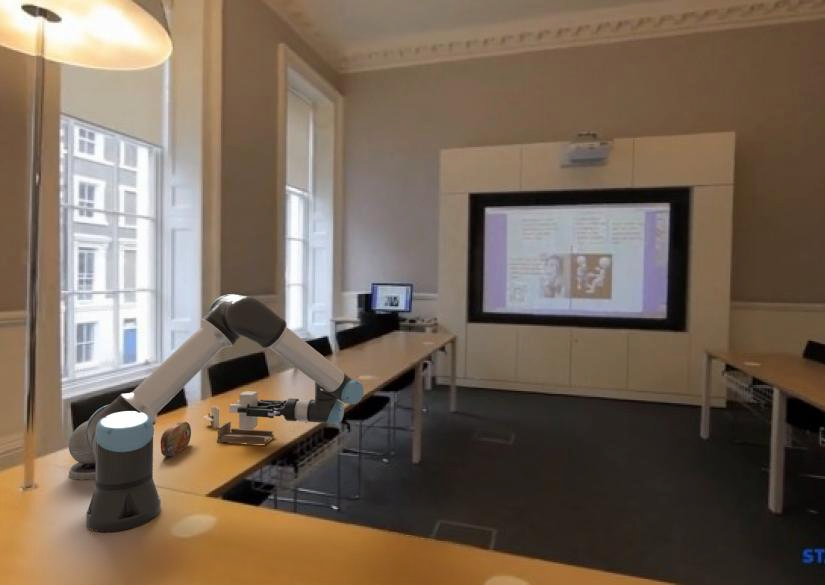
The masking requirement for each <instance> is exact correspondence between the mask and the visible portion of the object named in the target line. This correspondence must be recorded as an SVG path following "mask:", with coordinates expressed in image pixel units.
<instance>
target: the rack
mask: <svg viewBox="0 0 825 585" xmlns="http://www.w3.org/2000/svg"><path fill="white" fill-rule="evenodd" d="M231 423H232V422H231V421H230V420H229V421H228V420H227V421H225V423H223V424H221V425H219V427H218V428H217V439H216V443H219V442H231V443H230V444H233V443H247V444H266V443H267V442H268V441H269V440H270V439H271V438H273V437H274V438H275V435H274V434H273V432H274V431H273V430H263V429H254V428H253V429H252V430H249V429H239V427H237V428H235V427H232V428H231V426H232V425H231ZM274 438H273V439H274ZM268 443H269V442H268ZM268 443H267V444H268ZM247 444H246V445H247ZM267 444H266V445H267Z"/></svg>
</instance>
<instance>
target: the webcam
mask: <svg viewBox="0 0 825 585" xmlns="http://www.w3.org/2000/svg"><path fill="white" fill-rule="evenodd" d="M88 421H89V420H87V421H84V422H82V423H81V424H79V426H78V427H76V428H75V430H74V431H73V432H72V434H71V435H70V437H69V440H68V451H69V454H70V455H71V457H72V459H73V460H75V462H76V463H74V464H73V465H72V466H71V467H70V468H69V470H68V471H69V472H68V476H69V477H70V478H71V479H73V480H77V479H90V480H96V459H95V454H94V452H93V450H92V448H91V447H90V445H89V444H88V442H87V439H86V427H87V423H88Z"/></svg>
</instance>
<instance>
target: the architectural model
mask: <svg viewBox="0 0 825 585" xmlns="http://www.w3.org/2000/svg"><path fill="white" fill-rule="evenodd" d="M210 411H211V413H210V412H208V414H207V415H202V419H205V420H206V421H208V422H210V424H211V427H212V426H214V427H218V426H220V423H219V422H220V408H219V407H216V406H214V405H212V407H210ZM214 427H213V428H214Z"/></svg>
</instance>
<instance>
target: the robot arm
mask: <svg viewBox="0 0 825 585" xmlns="http://www.w3.org/2000/svg"><path fill="white" fill-rule="evenodd" d="M241 338H244V339H247V340H249V341H252V342H254V343H256V344H257V345H259V346H260V347H262V348H263V349H270V350H272V352H274V353H275V354H277V355H278V356H280V357H281V358H282V359H284V360H285V361H286V362H288V363H289V364H290V365H292V366H293V367H294V368H295V369H298V370H299V371H300V372H302V373H303V374H304V375H306V377H308V378H309V379H311V380H313V382H314V399H310V398H309V399H308V398H300V399H299V398H291V397H290V398H287V400H285V399H284V400H278V399H277V400H276V399H275V400H273V399H260V400H258V406H249V404H248V405H239V399H238V400H236V404H235V403H233V404H229V414H230V413H231V414H239V413H243V414H246V416H253V417H257V418H269V419H274V417H281V416H283V417H284V419H285V421H287V422H302V423H303V422H304V424H308V423H319V424H340V423H341V422H342V421H343V418H344V415H345V414H344V413H345V405H344V404H346V405H347V404H348V405H356V404H358V403H359V402H360V401H361V400H362V399H363V397H364V393H365V387H364V386H363V384H362V383H361V381H358V380H357V379H353V378H351V377H350V376H349V375H348V374H346V373H345V372H344V371H342V370H341V369H340V368H339V367H338V366H336V365H335V364H333V362H331V361H330V360H328V358H326V357H325V356H323V354H321V353H320V352H319V351H317V350H316V349H315V348H314V347H312V346H311V345H310V344H308V342H306V341H305V340H303V339H302V338H301V337H300V336H299V335H297V334H296V333H295V332H294V331H293V330H291V329H289V328H288V325H287V321H286V320H285V319H283V317H281V316H280V315H279V314H277V313H276V312H275V311H274V310H273V309H272V308H270V307H269V306H268V305H267V304H266V303H265V302H264V301H262V300H260V299H259V298H257V297H253V296H250V295H241V294H238V293H230V294H225V295H221V296H219V297H217V299H215V300H213V302H212V303H211V305H210V307H209V310H208V312H207V313H206V314H205V315H204V316H203V317H202V318H201V319H200V327H199V328H198V329H197V330H196V331H195V332H194V333H193V334H191V335H190V337H189V338H187V339H186V340H185V341H184V342H183V343H182V344H181V345H180V346H179V347H178V348H177V349H176V350H175V351H174V352H173V353H172V354H170V355H169V356H168V357H167V358H166V359H165V360H164V361H163V362H162V363H161V364H160V365H159V366H158V367H157V368H156V369H155V370H154V371H152V373H151V374H149V375H148V377H146V378H145V379H144V380H142V382H141V383H140V384H139V385H137V387H135V389H134V390H132V391H131V392H127V393H121V394H120V395H118V396H117V397H116V398H115V399H114V400H113V401H112V402H111V403H110V404H107V405H104V406H102V407H100V408H98V409H97V410H96V411H94V413H93V414H92V415H91V416H90V417H89V419H88V420H87V421H88V423H87V427H86V439H87V442H88V444H89V445H90V447H91V448H92V450H93V452H94V454H95V459H96V479H95V488H94V491H93V495H92V497H91V500H90V503H89V506H88V508H87V511H86V514H85V516H86V517H85V518H86V519H85V524H86V527H87V526H88V527H89V528H91V529H93V530H92V531H94V530H97V531H96V532H99V531H105V532H104V533H107V532H106V531H114V532H119V531H118V530H121V531H125V530H126V531H127V530H130V529H134V528H136V527H139V526H142V525H143V524H146V523H148V522H150V521H151V520H153V519H154V518H156V516H158V515H159V514H160V512H161V508H162V507H161V505H162V504H161V503H162V502H161V497H160V495H159V493H158V490H157V487H156V484H155V481H154V475H153V471H154V435H155V427H154V426H155V424H157V420H158V413H159V412H160V411H161V410H162V409H163V408H164V407H165V406H166V405H168V403H169V402H171V400H172V399H173V398H175V396H176V395H177V394H178V393H179V392H180V391H181V390H182V389H183V388H184V387H185V386H187V384H189V383H190V381H192V379H193V378H194V377H196V376H197V374H198V373H200V372H201V371H202V369H204V368H205V367H206V365H207V364H208V363H210V361H211V360H213V358H215V357H216V355H218V354H219V353H220V351H222V349H224V348H232V347H233V346H234V345H235V344H236V343H237V342H238V341H239V340H240V339H241ZM88 527H87V528H88ZM89 528H88V529H89ZM91 529H90V530H91Z"/></svg>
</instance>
